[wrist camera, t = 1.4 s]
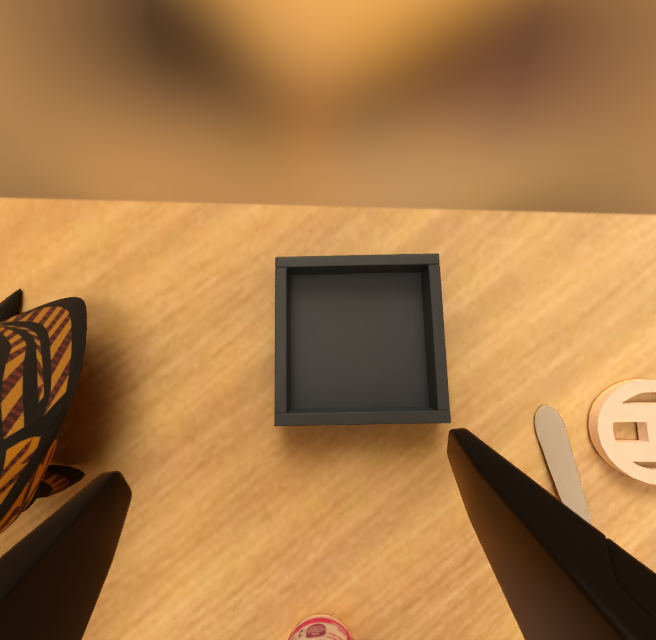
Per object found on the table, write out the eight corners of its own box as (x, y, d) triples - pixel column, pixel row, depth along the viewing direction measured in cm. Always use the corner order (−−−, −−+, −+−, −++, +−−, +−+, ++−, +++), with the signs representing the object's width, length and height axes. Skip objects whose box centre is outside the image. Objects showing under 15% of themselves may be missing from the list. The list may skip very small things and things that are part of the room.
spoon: (597, 734, 20) (620, 766, 19) (514, 409, 23) (528, 413, 22) (660, 721, 20) (688, 752, 19) (569, 399, 23) (587, 402, 22)
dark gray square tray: (438, 416, 23) (451, 423, 21) (280, 419, 23) (274, 426, 21) (428, 264, 25) (439, 252, 22) (280, 267, 25) (275, 256, 23)
